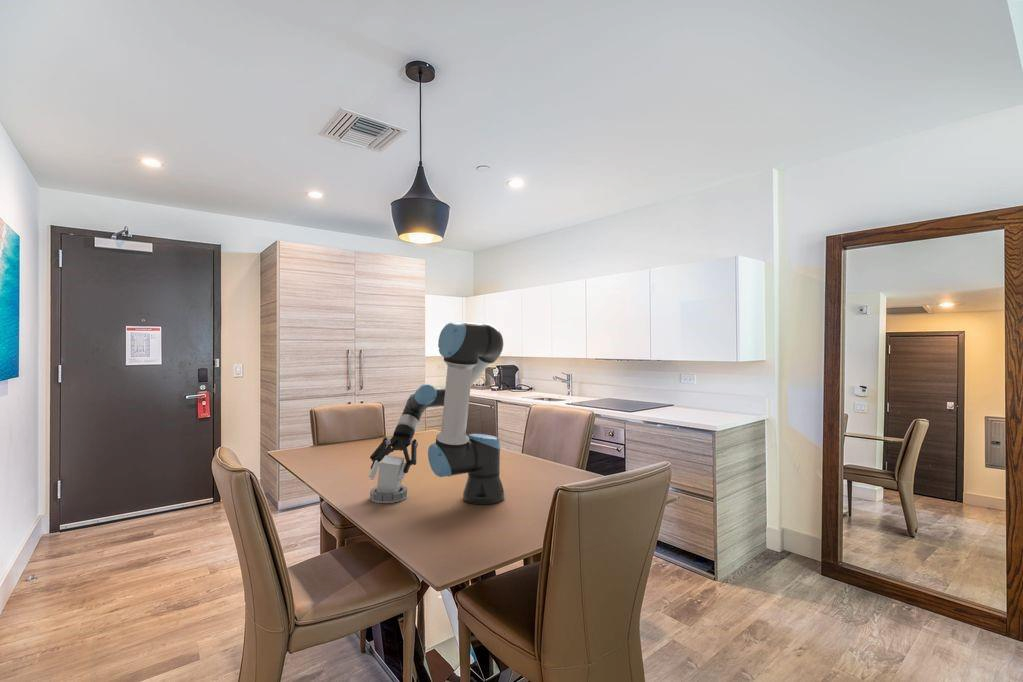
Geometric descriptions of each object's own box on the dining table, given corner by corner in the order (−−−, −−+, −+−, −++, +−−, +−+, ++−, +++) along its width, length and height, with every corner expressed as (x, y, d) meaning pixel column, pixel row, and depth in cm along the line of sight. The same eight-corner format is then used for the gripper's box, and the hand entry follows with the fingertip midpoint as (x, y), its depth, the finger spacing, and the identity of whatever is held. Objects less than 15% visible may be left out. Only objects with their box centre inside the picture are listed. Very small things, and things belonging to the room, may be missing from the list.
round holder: (413, 498, 175) (413, 490, 175) (379, 506, 166) (379, 497, 167) (397, 490, 185) (397, 482, 185) (364, 497, 176) (364, 488, 177)
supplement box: (395, 498, 172) (399, 465, 170) (375, 495, 172) (378, 462, 170) (401, 489, 180) (404, 457, 178) (382, 486, 180) (385, 454, 178)
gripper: (436, 436, 188) (417, 487, 172) (382, 432, 194) (360, 481, 179) (430, 424, 182) (411, 476, 167) (375, 421, 189) (352, 471, 173)
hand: (385, 479), depth 173 cm, fingers open, 11 cm apart
